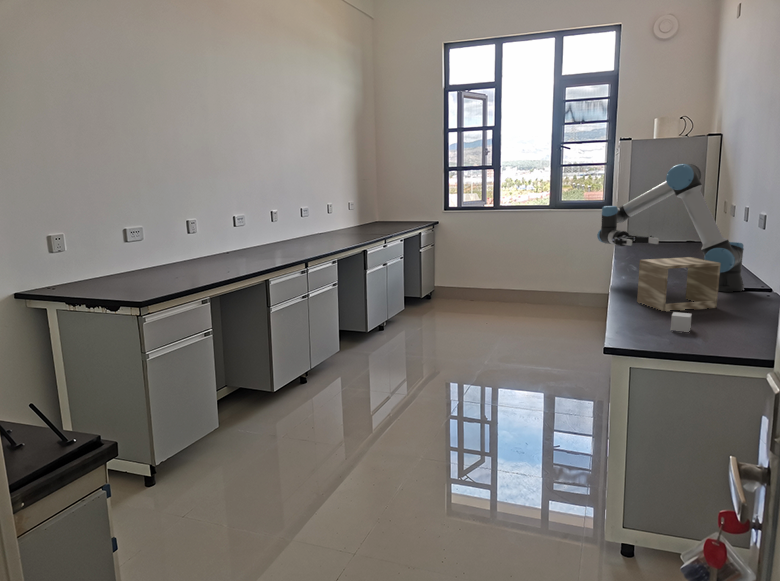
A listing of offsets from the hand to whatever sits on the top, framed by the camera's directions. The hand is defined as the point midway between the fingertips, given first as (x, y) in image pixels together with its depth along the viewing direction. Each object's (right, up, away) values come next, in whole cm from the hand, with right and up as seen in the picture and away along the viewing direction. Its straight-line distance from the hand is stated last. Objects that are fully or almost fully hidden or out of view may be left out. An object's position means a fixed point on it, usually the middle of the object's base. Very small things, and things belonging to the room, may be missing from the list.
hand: (644, 242), depth 266 cm
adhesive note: (-13, -38, -59) cm, 71 cm away
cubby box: (+4, -29, -20) cm, 36 cm away
